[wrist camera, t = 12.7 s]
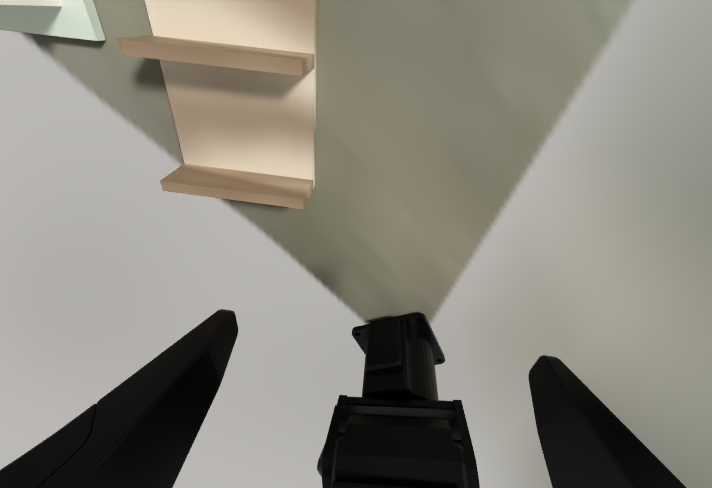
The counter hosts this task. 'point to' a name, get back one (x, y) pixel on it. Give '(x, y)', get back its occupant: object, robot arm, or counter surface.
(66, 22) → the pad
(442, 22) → the counter surface
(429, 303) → the counter surface
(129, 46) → the slot rack
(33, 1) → the letter cube
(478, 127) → the counter surface
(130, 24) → the counter surface
